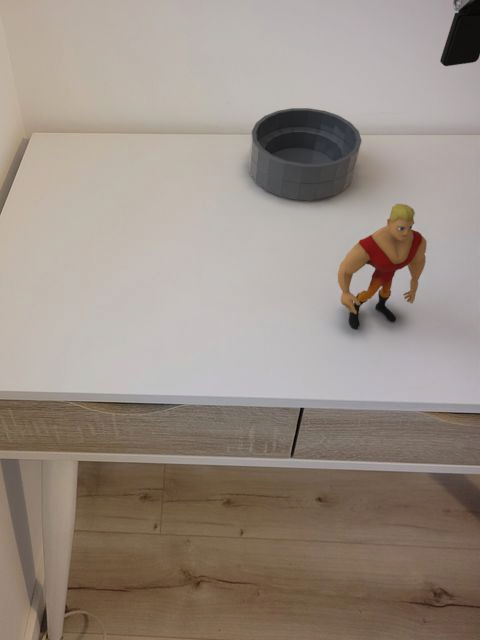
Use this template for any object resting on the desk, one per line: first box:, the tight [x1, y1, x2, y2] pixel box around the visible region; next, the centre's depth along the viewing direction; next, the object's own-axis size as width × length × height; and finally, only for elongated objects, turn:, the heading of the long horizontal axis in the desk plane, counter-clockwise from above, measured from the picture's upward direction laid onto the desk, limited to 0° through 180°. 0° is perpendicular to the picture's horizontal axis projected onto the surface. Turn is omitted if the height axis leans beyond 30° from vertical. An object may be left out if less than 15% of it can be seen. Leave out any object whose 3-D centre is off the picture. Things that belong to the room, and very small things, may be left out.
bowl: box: [248, 107, 362, 200], centre depth 83 cm, size 14×14×6 cm
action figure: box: [337, 203, 428, 330], centre depth 61 cm, size 10×4×15 cm, turn 103°
